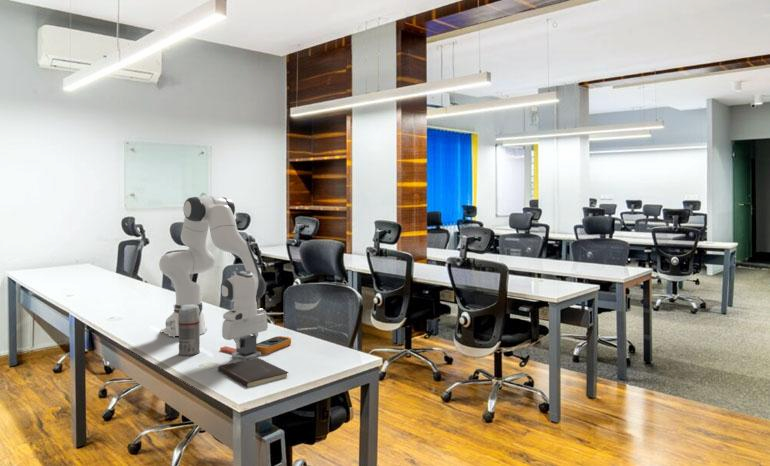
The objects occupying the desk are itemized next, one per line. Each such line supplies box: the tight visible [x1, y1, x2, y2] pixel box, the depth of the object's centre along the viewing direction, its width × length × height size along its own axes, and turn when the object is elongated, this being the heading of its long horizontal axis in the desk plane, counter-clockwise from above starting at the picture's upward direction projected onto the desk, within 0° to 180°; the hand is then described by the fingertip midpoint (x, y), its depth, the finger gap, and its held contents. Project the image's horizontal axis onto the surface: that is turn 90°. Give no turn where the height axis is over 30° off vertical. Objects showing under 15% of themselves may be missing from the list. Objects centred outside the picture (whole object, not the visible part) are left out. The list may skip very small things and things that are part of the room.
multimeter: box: [256, 335, 292, 355], centre depth 221 cm, size 9×18×3 cm, turn 153°
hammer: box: [219, 346, 262, 361], centre depth 213 cm, size 19×8×5 cm, turn 54°
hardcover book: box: [217, 357, 289, 388], centre depth 188 cm, size 16×23×2 cm
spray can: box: [178, 304, 201, 357], centre depth 213 cm, size 8×8×20 cm
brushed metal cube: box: [235, 334, 257, 355], centre depth 209 cm, size 6×6×6 cm
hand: (246, 346), depth 209 cm, fingers closed on brushed metal cube, 5 cm apart
